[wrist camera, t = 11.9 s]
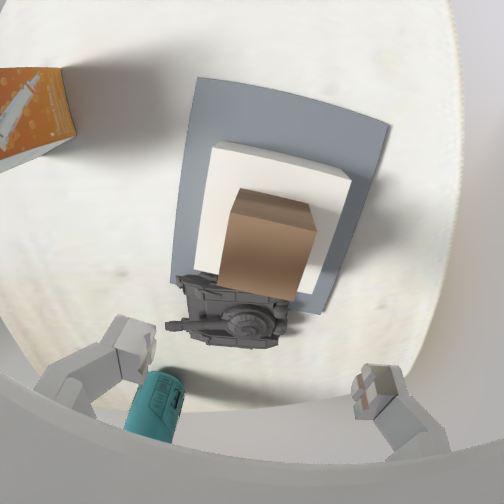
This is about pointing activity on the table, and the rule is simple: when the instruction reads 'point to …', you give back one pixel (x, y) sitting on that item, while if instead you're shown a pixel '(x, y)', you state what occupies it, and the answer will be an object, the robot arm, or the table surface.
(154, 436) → the beverage bottle
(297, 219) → the walnut block
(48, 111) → the small box
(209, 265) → the white plinth
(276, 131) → the plain slate board
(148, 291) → the table surface
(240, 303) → the tank toy
